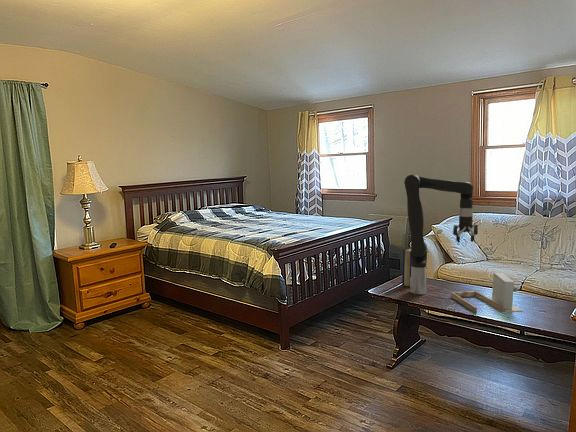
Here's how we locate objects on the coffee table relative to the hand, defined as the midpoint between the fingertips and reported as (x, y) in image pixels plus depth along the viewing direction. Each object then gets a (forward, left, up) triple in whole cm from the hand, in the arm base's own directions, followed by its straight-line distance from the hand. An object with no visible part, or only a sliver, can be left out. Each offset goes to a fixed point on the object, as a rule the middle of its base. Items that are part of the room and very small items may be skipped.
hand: (465, 241), depth 264 cm
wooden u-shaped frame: (0, -14, -34) cm, 37 cm away
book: (-19, +32, -34) cm, 51 cm away
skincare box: (+14, -18, -34) cm, 41 cm away
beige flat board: (+14, -18, -34) cm, 41 cm away
